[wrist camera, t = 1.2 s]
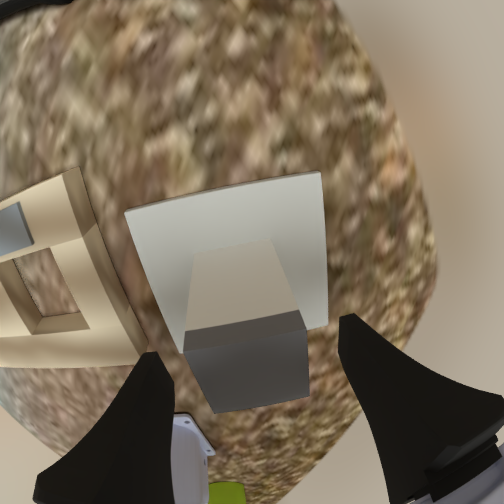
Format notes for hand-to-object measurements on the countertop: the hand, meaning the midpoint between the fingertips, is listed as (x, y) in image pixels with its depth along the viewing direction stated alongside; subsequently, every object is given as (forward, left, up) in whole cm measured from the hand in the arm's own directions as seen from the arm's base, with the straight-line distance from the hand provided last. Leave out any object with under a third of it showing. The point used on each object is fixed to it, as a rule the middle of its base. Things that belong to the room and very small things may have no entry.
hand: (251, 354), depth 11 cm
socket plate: (+2, +17, -6) cm, 18 cm away
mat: (0, 0, -6) cm, 6 cm away
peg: (0, 0, -6) cm, 6 cm away
